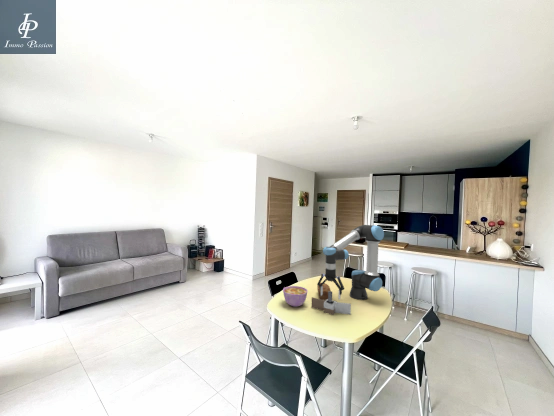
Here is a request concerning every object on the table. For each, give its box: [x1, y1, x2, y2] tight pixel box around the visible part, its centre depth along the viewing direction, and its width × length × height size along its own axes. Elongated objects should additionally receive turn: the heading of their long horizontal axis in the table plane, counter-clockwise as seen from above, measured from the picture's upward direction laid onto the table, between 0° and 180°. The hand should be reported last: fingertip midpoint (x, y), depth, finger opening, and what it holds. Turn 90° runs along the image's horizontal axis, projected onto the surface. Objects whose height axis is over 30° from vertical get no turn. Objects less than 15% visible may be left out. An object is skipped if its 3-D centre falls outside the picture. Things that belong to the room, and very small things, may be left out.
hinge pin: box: [328, 291, 333, 304], centre depth 161 cm, size 3×3×15 cm
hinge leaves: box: [311, 297, 352, 316], centre depth 162 cm, size 9×29×8 cm, turn 58°
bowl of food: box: [282, 285, 309, 308], centre depth 174 cm, size 20×20×12 cm
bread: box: [316, 282, 332, 300], centre depth 192 cm, size 19×11×10 cm, turn 173°
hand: (330, 296), depth 162 cm, fingers open, 13 cm apart
